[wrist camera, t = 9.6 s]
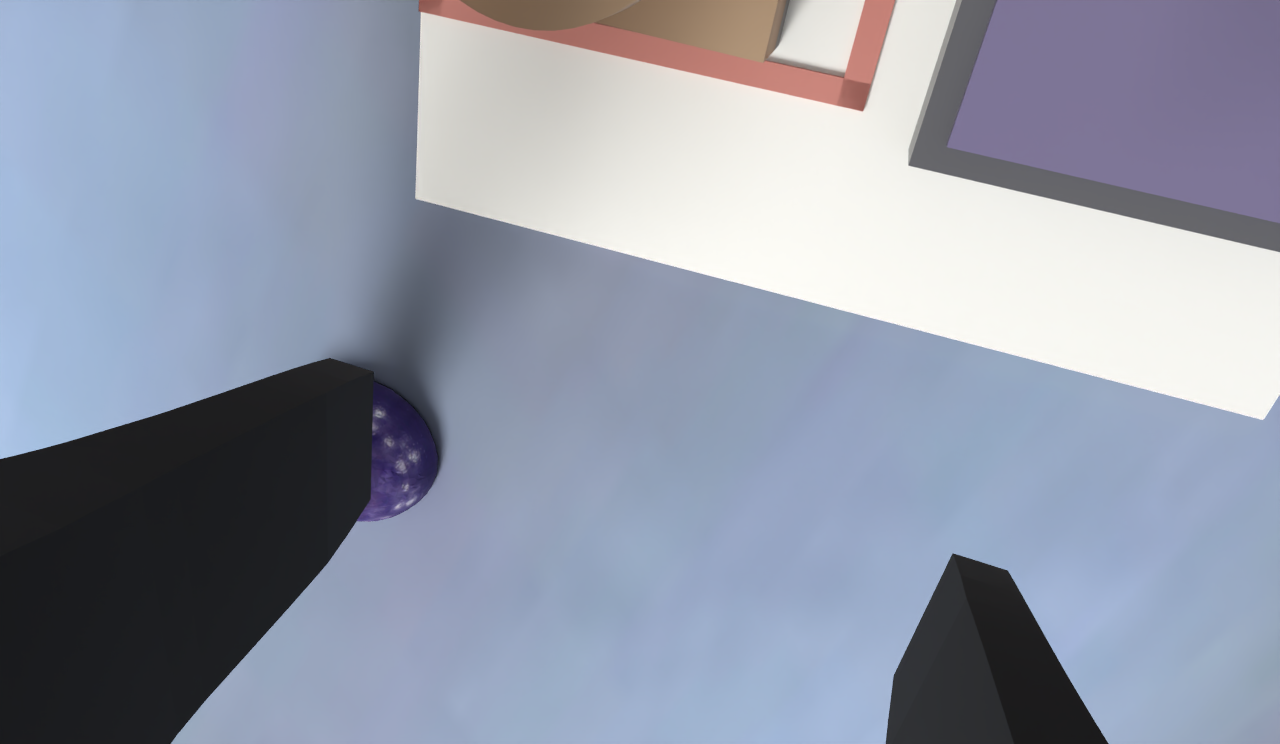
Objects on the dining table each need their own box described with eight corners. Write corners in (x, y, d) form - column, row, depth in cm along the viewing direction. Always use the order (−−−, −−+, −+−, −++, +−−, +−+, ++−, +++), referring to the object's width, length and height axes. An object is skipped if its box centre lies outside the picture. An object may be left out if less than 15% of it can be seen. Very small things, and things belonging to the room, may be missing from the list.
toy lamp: (411, 353, 22) (-474, 1162, 8) (487, 503, 24) (-132, 1391, 10) (271, 391, 24) (-645, 1100, 10) (352, 528, 26) (-334, 1301, 12)
